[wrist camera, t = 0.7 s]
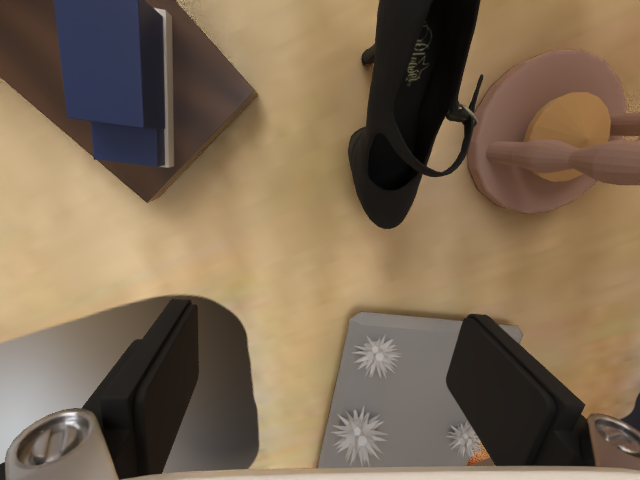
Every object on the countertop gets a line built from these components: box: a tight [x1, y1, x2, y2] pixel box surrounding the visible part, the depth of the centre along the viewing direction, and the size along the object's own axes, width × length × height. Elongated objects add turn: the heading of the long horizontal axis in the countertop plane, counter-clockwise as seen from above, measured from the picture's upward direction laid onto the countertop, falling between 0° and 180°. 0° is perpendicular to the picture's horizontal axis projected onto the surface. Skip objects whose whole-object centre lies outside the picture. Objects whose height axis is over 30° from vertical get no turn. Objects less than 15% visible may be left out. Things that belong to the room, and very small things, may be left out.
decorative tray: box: [317, 311, 523, 468], centre depth 44 cm, size 35×26×10 cm
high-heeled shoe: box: [348, 0, 483, 229], centre depth 25 cm, size 8×19×20 cm, turn 8°
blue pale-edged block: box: [54, 0, 174, 168], centre depth 26 cm, size 13×6×6 cm, turn 172°
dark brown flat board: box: [0, 0, 258, 203], centre depth 28 cm, size 16×30×3 cm, turn 42°
